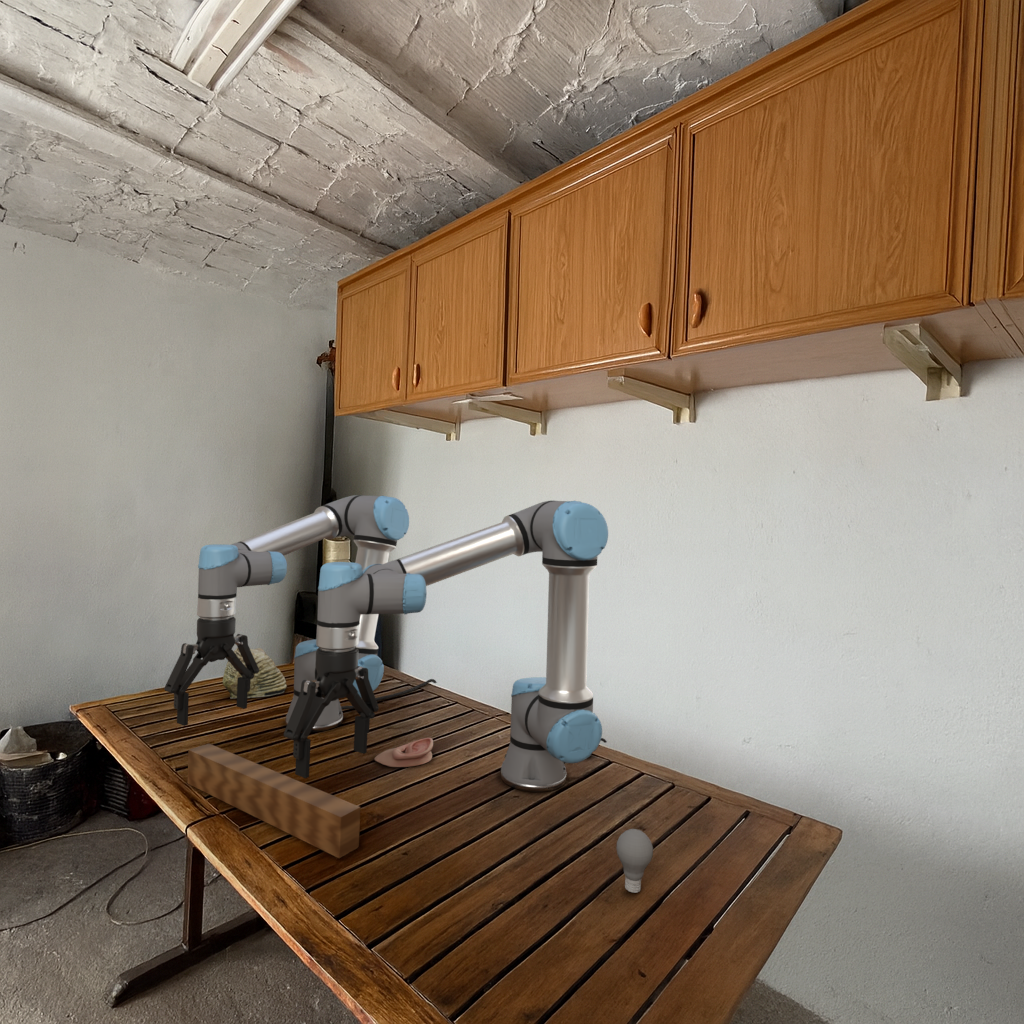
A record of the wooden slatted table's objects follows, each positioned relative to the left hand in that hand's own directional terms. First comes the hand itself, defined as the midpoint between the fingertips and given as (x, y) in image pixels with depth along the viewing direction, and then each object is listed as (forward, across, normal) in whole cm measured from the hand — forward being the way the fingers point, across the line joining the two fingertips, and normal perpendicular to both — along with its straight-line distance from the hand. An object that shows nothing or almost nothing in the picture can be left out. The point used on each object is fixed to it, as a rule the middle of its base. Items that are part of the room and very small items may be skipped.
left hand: (213, 715), depth 136 cm
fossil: (+15, +43, +47) cm, 66 cm away
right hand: (0, 0, -37) cm, 37 cm away
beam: (+15, 0, -19) cm, 24 cm away
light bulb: (+15, +20, -88) cm, 92 cm away
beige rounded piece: (+15, +36, -22) cm, 45 cm away
